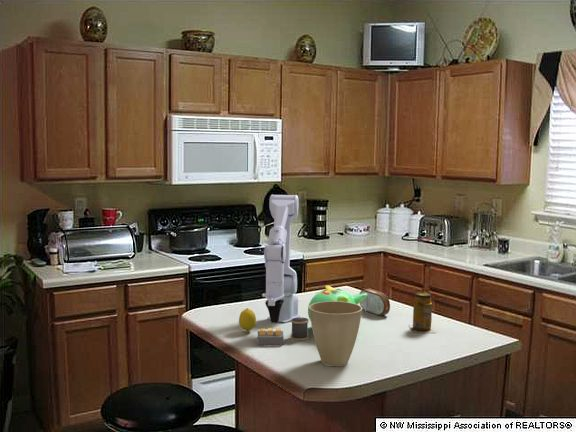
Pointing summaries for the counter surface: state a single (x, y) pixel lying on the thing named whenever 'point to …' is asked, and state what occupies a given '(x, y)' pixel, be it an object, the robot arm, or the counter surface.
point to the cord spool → (299, 328)
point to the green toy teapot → (335, 297)
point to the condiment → (422, 313)
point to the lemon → (247, 320)
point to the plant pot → (335, 330)
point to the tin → (375, 302)
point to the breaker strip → (270, 337)
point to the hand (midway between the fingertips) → (274, 322)
